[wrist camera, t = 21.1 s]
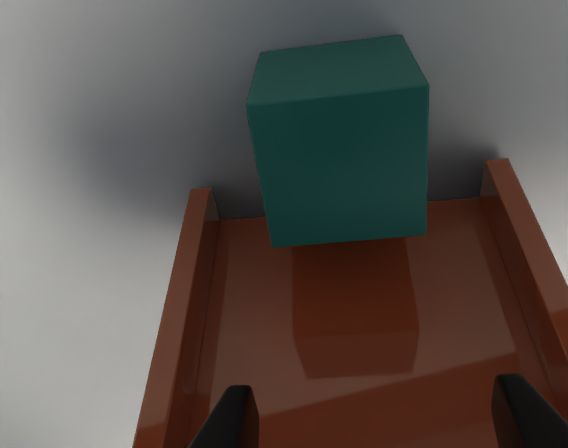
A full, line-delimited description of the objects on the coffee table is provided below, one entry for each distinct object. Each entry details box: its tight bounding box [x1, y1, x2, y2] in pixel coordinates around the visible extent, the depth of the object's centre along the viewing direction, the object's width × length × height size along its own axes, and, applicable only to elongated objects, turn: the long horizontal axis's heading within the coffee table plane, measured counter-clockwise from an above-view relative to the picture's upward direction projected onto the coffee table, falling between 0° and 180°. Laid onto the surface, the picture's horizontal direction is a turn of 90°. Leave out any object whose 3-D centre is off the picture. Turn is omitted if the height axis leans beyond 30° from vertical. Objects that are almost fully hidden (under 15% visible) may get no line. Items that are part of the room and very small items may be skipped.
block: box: [246, 35, 429, 248], centre depth 14 cm, size 4×4×4 cm
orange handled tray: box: [132, 158, 568, 448], centre depth 11 cm, size 10×14×6 cm
